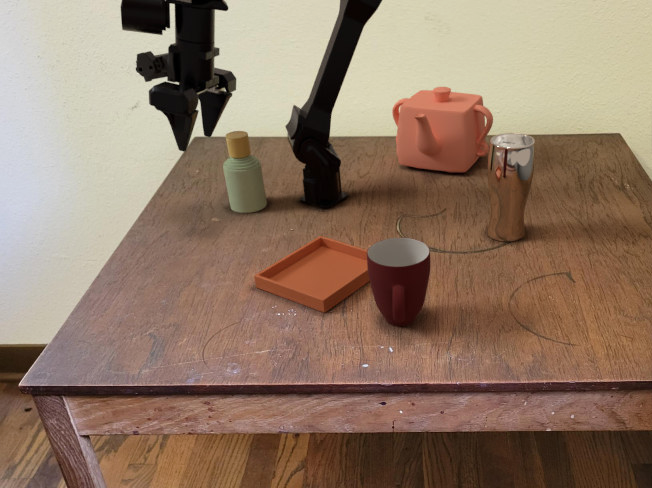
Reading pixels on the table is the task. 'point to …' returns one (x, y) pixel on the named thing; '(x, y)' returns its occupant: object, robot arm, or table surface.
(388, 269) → the mug
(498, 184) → the beer glass
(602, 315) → the table surface
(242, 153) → the bottle cap
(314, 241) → the tray
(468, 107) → the teapot
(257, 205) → the bottle
